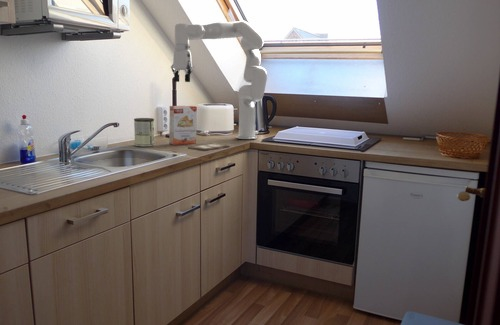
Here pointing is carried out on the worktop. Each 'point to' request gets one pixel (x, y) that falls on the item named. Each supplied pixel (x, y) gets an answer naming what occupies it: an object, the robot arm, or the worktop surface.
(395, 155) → the worktop surface
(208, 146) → the walnut board
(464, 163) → the worktop surface
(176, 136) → the cracker box
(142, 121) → the coffee can
